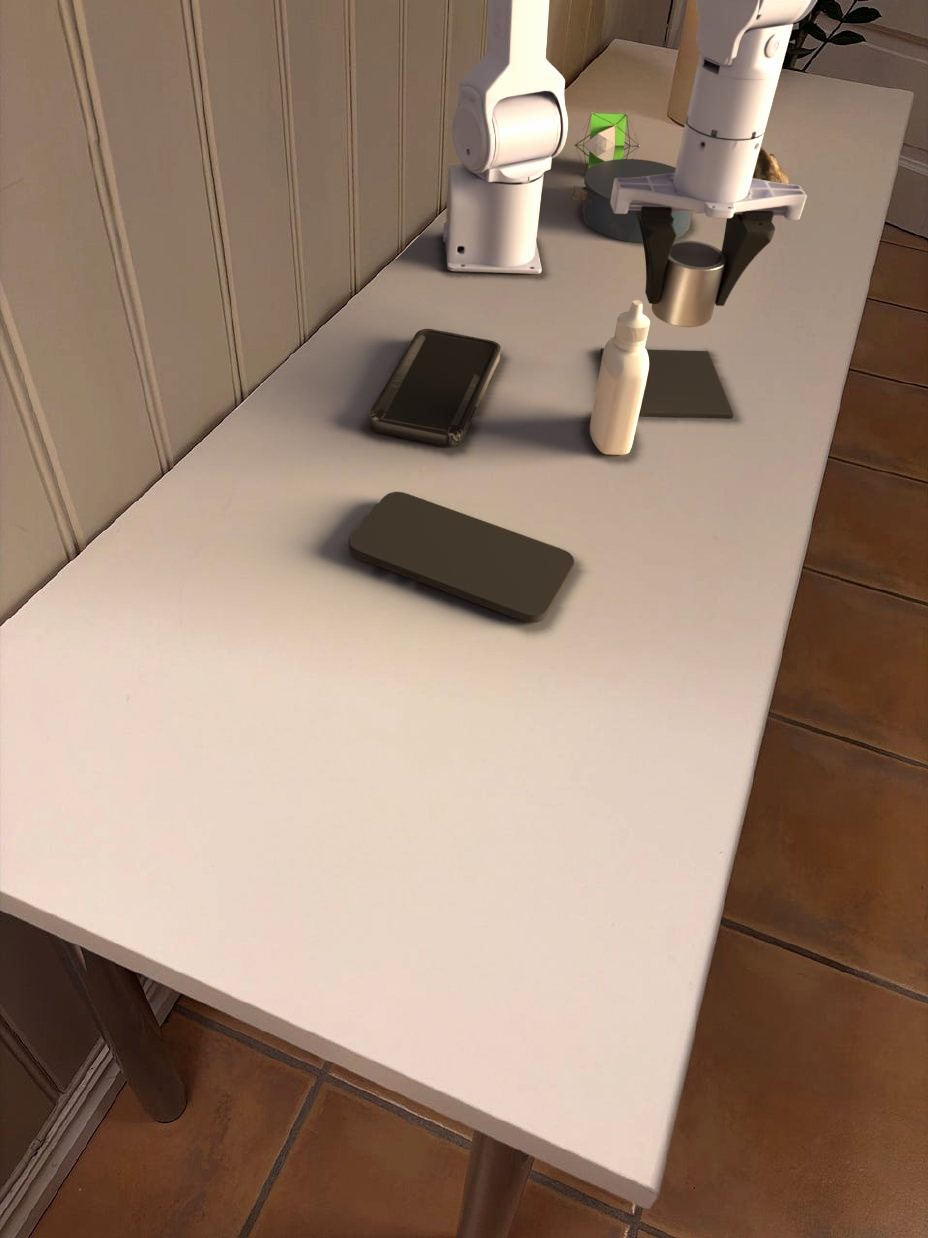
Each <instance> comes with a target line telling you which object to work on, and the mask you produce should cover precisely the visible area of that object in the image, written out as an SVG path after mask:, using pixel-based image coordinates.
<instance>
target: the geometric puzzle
mask: <svg viewBox="0 0 928 1238" xmlns="http://www.w3.org/2000/svg"><path fill="white" fill-rule="evenodd" d="M627 118H629V117H628V113H627V112H626V113H612V112H611V113H607V112H602V113H601V112H591V113H590V115H589V117H588V119H587V122H586V124H585V125H584V127H583V129H585V127H586V125H587V128H586V132H585V135H584V138H583V139H581V140H580V141H577V142H576V143H575V144H574V147H575V149H576V151H577V154H578V156H579V158H580V161H581V163H582V166H583V168H584V171H585V172H586V171H587V170H588V169H589V168H590V167H592V166H594V165H596V164H598V163H601V162H605V161H609V160H617V159H628V156H629V154H631V153H632V152H634V151H635V150H636V151H638V149H639V148H640V147H641V145H640V144H639V142H637V141H635V140H634V139H632V141H633V142H634V143H635V144H636V148H635V145H631V141H630V139H631V137H630V132H629V131H630V130H629V129H627V133H626V126H627V127H629V125H630V126H631V129H632V130H634V128H633V127H632V124H631V120H627ZM628 121H629V122H628ZM587 123H588V124H587ZM589 125H590V132H589V134H588V135H587V133H588V129H589ZM633 134H634V135H636V133H635V132H633ZM626 136H627V137H628V143H629V144H628V143H627V142H626V140H625V139H626ZM588 137H589V139H588V140H587V141H586V139H587V138H588ZM635 139H636V140H638V138H637V137H635ZM582 141H583V142H582ZM585 141H586V142H585ZM581 142H582V144H581V146H582V148H580V147H579V144H580V143H581ZM625 145H626V147H625ZM631 147H632V148H633V147H634V149H633V150H631V151H630V148H631ZM582 149H583V150H582ZM585 149H587V151H588V153H586V152H585ZM627 149H628V151H627V154H625V150H627ZM578 150H580V151H581V152H582V153H583V156H584V157H586V156H587V157H588V164H587V162H586V161H587V160H586V159H584V162H585V164H587V165H588V166H584V164H583V161H582V159H581V156H580V154H579V151H578ZM624 154H625V155H624ZM635 155H636V153H634V154H633V156H632V158H634V157H635Z"/></svg>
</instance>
